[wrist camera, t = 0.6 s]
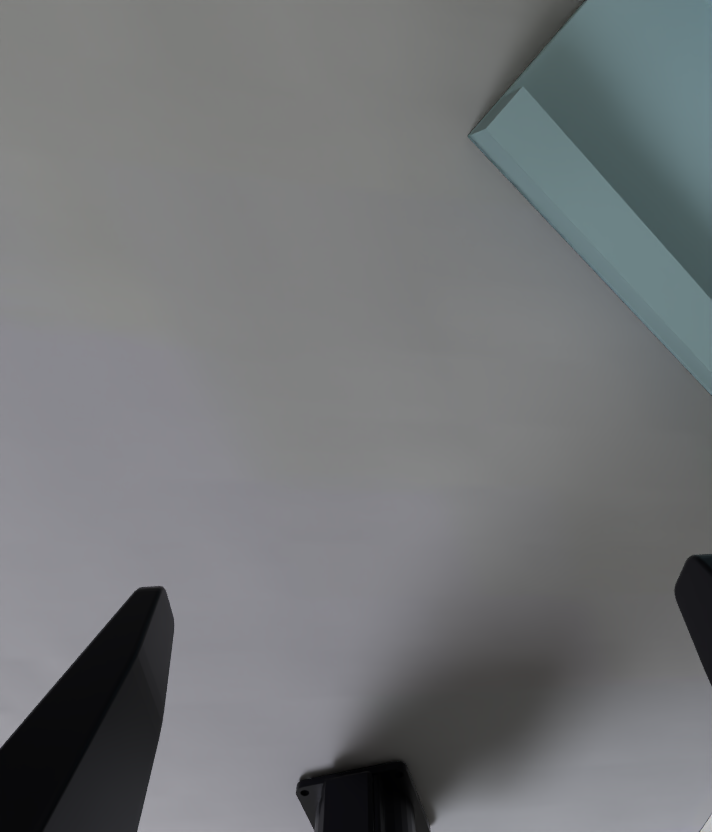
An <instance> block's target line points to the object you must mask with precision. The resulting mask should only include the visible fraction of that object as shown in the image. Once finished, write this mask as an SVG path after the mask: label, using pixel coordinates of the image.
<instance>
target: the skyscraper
mask: <svg viewBox="0 0 712 832" xmlns="http://www.w3.org/2000/svg"><path fill="white" fill-rule="evenodd" d="M700 832H712V815H711V816H710V818H709V819H708V821H707V822H706V824H705V825H704V827H703V828H702V830H701V831H700Z"/></svg>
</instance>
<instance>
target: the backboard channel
mask: <svg viewBox="0 0 712 832" xmlns="http://www.w3.org/2000/svg"><path fill="white" fill-rule="evenodd" d="M468 138H469V139H470V140H471V141H472V142H473V143H474V144H475V145H476V146H477V147H478V148H479V149H480V150H481V151H482V152H483V153H484V155H485V156H486V157H487V158H488V159H489V160H490V161H491V162H492V163H493V164H494V165H495V166H496V167H497V168H498V169H499V170H500V171H501V173H502V174H503V175H504V176H505V177H506V178H507V179H508V180H509V181H510V182H511V183H512V184H513V185H514V186H515V187H516V188H517V190H518V191H519V192H520V193H521V194H522V195H523V196H524V197H525V198H526V199H527V200H528V201H529V202H530V203H531V204H532V205H533V207H534V208H535V209H536V210H537V211H538V212H539V213H540V214H541V215H542V216H543V217H544V218H545V219H546V220H547V221H548V222H549V223H550V225H551V226H552V227H553V228H554V229H555V230H556V231H557V232H558V233H559V234H560V235H561V236H562V237H563V238H564V239H565V240H566V242H567V243H568V244H569V245H570V246H571V247H572V248H573V249H574V250H575V251H576V252H577V253H578V254H579V255H580V256H581V257H582V258H583V260H584V261H585V262H586V263H587V264H588V265H589V266H590V267H591V268H592V269H593V270H594V271H595V272H596V273H597V274H598V275H599V277H600V278H601V279H602V280H603V281H604V282H605V283H606V284H607V285H608V286H609V287H610V288H611V289H612V290H613V291H614V292H615V294H616V295H617V296H618V297H619V298H620V299H621V300H622V301H623V302H624V303H625V304H626V305H627V306H628V307H629V308H630V309H631V310H632V312H633V313H634V314H635V315H636V316H637V317H638V318H639V319H640V320H641V321H642V322H643V323H644V324H645V325H646V326H647V327H648V329H649V330H650V331H651V332H652V333H653V334H654V335H655V336H656V337H657V338H658V339H659V340H660V341H661V342H662V343H663V344H664V345H665V347H666V348H667V349H668V350H669V351H670V352H671V353H672V354H673V355H674V356H675V357H676V358H677V359H678V360H679V361H680V362H681V364H682V365H683V366H684V367H685V368H686V369H687V370H688V371H689V372H690V373H691V374H692V375H693V376H694V377H695V378H696V379H697V381H698V382H699V383H700V384H701V385H702V386H703V387H704V388H705V389H706V390H707V391H708V392H709V393H710V394H711V395H712V0H585V1H584V2H583V3H582V5H581V6H580V7H579V8H578V9H577V10H576V11H575V13H574V14H573V15H572V16H571V17H570V18H569V20H568V21H567V22H566V23H565V24H564V25H563V26H562V28H561V29H560V30H559V31H558V32H557V33H556V35H555V36H554V37H553V38H552V39H551V40H550V42H549V43H548V44H547V45H546V46H545V47H544V48H543V50H542V51H541V52H540V53H539V54H538V55H537V57H536V58H535V59H534V60H533V61H532V62H531V63H530V65H529V66H528V67H527V68H526V69H525V70H524V72H523V73H522V74H521V75H520V76H519V77H518V78H517V80H516V81H515V82H514V83H513V84H512V85H511V87H510V88H509V89H508V90H507V91H506V92H505V93H504V95H503V96H502V97H501V98H500V99H499V100H498V102H497V103H496V104H495V105H494V106H493V107H492V108H491V110H490V111H489V112H488V113H487V114H486V115H485V117H484V118H483V119H482V120H481V121H480V122H479V123H478V125H477V126H476V127H475V128H474V129H473V130H472V132H471V133H470V134H469V135H468Z"/></svg>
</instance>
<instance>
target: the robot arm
mask: <svg viewBox="0 0 712 832" xmlns="http://www.w3.org/2000/svg"><path fill="white" fill-rule="evenodd" d="M675 598H676V601H677V604H678V606H679V609H680V611H681V613H682V616H683V618H684V621H685V623H686V626H687V628H688V631H689V633H690V636H691V638H692V640H693V643H694V645H695V648H696V650H697V653H698V655H699V658H700V660H701V662H702V665H703V667H704V670H705V672H706V674H707V677H708V679H709V681H710V683H711V685H712V554H702V555H692V556H690V557H689V558H688V559H687V560H686V562H685V565H684V567H683V569H682V571H681V573H680V576H679V578H678V580H677V582H676V585H675ZM173 635H174V618H173V614H172V610H171V607H170V603H169V600H168V596H167V593H166V590H165V589H164V588H163V587H161V586H153V587H141V588H139V589H137V590H136V591H135V592H134V593H133V594H132V595H131V596H130V597H129V599H128V600H127V601H126V602H125V603H124V604H123V606H122V607H121V608H120V609H119V610H118V611H117V613H116V614H115V615H114V616H113V617H112V618H111V620H110V621H109V622H108V623H107V624H106V625H105V627H104V628H103V629H102V630H101V631H100V632H99V634H98V635H97V636H96V637H95V638H94V639H93V641H92V642H91V643H90V644H89V645H88V646H87V648H86V649H85V650H84V651H83V652H82V653H81V655H80V656H79V657H78V658H77V659H76V660H75V662H74V663H73V664H72V665H71V666H70V667H69V669H68V670H67V671H66V672H65V673H64V674H63V676H62V677H61V678H60V679H59V680H58V681H57V683H56V684H55V685H54V686H53V687H52V688H51V690H50V691H49V692H48V693H47V694H46V695H45V697H44V698H43V699H42V700H41V701H40V703H39V704H38V705H37V706H36V707H35V708H34V710H33V711H32V712H31V713H30V714H29V715H28V717H27V718H26V719H25V720H24V721H23V722H22V724H21V725H20V726H19V727H18V728H17V729H16V731H15V732H14V733H13V734H12V735H11V736H10V738H9V739H8V740H7V741H6V742H5V743H4V745H3V746H2V747H1V748H0V832H137V830H138V825H139V821H140V817H141V813H142V809H143V804H144V800H145V796H146V792H147V787H148V783H149V779H150V775H151V770H152V766H153V762H154V758H155V754H156V749H157V745H158V741H159V736H160V732H161V727H162V721H163V714H164V707H165V699H166V691H167V683H168V675H169V667H170V659H171V651H172V643H173ZM296 795H297V797H298V799H299V801H300V803H301V805H302V807H303V809H304V811H305V813H306V815H307V817H308V819H309V821H310V823H311V825H312V827H313V829H314V832H431V831H430V825H429V823H428V820H427V817H426V815H425V812H424V809H423V807H422V804H421V801H420V799H419V796H418V794H417V791H416V788H415V786H414V783H413V780H412V778H411V775H410V772H409V770H408V767H407V765H406V764H405V763H403V762H393V763H388V764H383V765H378V766H373V767H367V768H362V769H357V770H352V771H347V772H342V773H337V774H332V775H327V776H322V777H317V778H312V779H307V780H302V781H300V782H298V783H297V788H296Z"/></svg>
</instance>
